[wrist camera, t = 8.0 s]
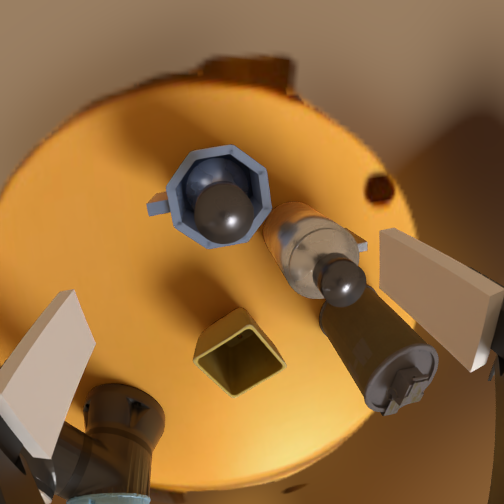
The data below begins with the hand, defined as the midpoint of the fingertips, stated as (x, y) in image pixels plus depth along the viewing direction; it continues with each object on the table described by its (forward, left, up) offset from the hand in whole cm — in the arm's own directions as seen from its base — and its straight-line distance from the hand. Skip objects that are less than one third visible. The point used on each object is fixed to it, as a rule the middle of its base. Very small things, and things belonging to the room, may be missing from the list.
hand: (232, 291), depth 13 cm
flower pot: (-1, -20, -29) cm, 35 cm away
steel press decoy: (+9, -7, -29) cm, 31 cm away
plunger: (0, +1, -23) cm, 23 cm away
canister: (+17, -22, -29) cm, 40 cm away
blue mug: (-1, +1, -29) cm, 29 cm away
